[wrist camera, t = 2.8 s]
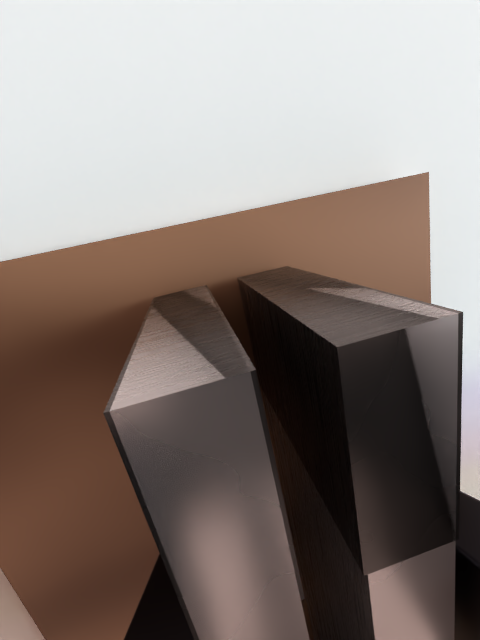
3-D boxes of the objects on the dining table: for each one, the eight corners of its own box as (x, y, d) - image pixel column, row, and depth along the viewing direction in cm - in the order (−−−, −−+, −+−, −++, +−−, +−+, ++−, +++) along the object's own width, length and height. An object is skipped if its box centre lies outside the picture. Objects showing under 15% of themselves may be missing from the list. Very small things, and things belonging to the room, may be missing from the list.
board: (417, 636, 16) (436, 667, 14) (146, 750, 14) (144, 796, 13) (397, 180, 9) (428, 171, 8) (-116, 288, 7) (-169, 297, 6)
